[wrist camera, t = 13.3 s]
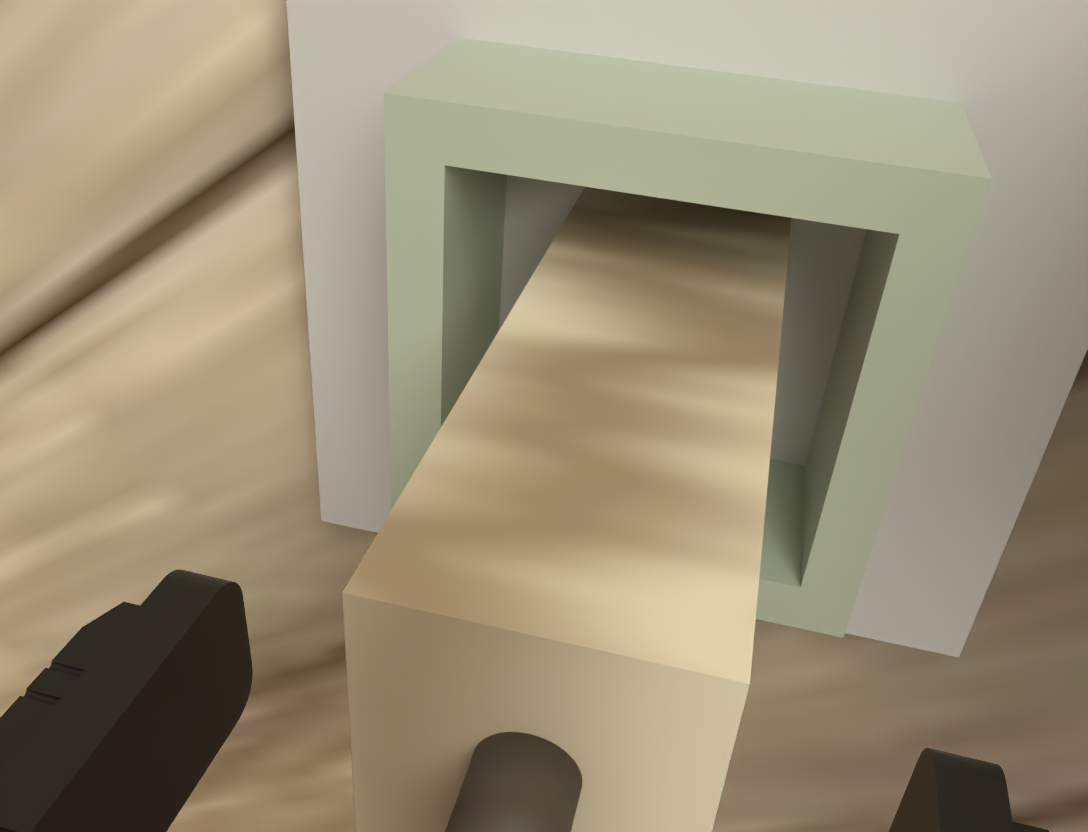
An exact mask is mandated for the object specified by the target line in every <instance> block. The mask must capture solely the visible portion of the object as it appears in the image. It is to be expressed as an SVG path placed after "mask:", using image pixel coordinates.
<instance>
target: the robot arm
mask: <svg viewBox="0 0 1088 832" xmlns="http://www.w3.org/2000/svg"><path fill="white" fill-rule="evenodd" d="M252 672H253V671H252V661H251V654H250V646H249V639H248V631H247V624H246V616H245V609H244V601H243V594H242V590H241V588H240V586H239V585H238V584H237V583H235V582H231V581H227V580H223V579H219V578H214V577H210V576H206V575H202V574H197V573H193V572H189V571H185V570H175V571H172V572H171V573H169V574H168V575H167V576H166V577H165V578H164V579H163V580H162V581H161V582H160V583H159V585H158V586H157V587H156V588H155V589H154V590H153V592H152V593H151V594H150V595H149V596H148V597H147V599H146V600H145V601H144V602H143V603H142V604H141V606H139V605H135V604H131V603H127V602H123V603H121V604H120V605H118V606H116V607H115V608H113V609H111V610H110V611H108V612H106V613H105V614H103V615H102V616H100V617H98V618H97V619H95V620H93V621H92V622H90V623H89V624H87V625H85V626H84V627H82V628H81V629H80V630H79V631H78V632H77V634H76V635H75V636H74V637H73V638H72V639H71V640H70V641H69V642H68V644H67V645H66V646H65V647H64V648H63V649H62V650H61V651H60V652H59V653H58V655H57V656H56V657H55V658H54V659H53V660H52V663H51V666H50V668H49V669H48V668H45V669H44V670H43V671H42V672H41V673H40V674H39V676H38V677H37V678H36V679H35V680H34V681H33V682H32V683H31V684H30V686H29V687H28V688H27V691H26V694H25V695H24V696H23V697H22V696H20V697H19V698H18V699H17V700H16V701H15V702H14V703H13V704H12V705H11V707H10V708H9V709H8V710H7V711H6V712H5V713H4V714H3V715H2V717H1V718H0V832H166V831H167V830H168V828H169V827H170V825H171V824H172V822H173V820H174V819H175V817H176V816H177V814H178V813H179V811H180V810H181V808H182V807H183V805H184V804H185V802H186V800H187V799H188V797H189V796H190V794H191V793H192V791H193V790H194V788H195V787H196V785H197V783H198V782H199V780H200V779H201V777H202V776H203V774H204V773H205V771H206V770H207V768H208V766H209V765H210V763H211V762H212V760H213V759H214V757H215V756H216V754H217V753H218V751H219V750H220V748H221V746H222V745H223V743H224V742H225V740H226V739H227V737H228V736H229V734H230V733H231V731H232V729H233V728H234V726H235V725H236V723H237V722H238V720H239V718H240V716H241V714H242V712H243V710H244V708H245V705H246V703H247V700H248V696H249V693H250V689H251V684H252ZM889 832H1049V831H1048V830H1045V829H1041V828H1037V827H1033V826H1029V825H1024V824H1020V823H1016V822H1012V816H1011V810H1010V803H1009V797H1008V791H1007V785H1006V779H1005V775H1004V772H1003V770H1002V768H1001V767H1000V766H999V765H997V764H993V763H989V762H985V761H981V760H976V759H972V758H968V757H964V756H959V755H955V754H951V753H947V752H942V751H938V750H934V749H930V748H926V749H924V750H923V752H922V753H921V755H920V757H919V759H918V761H917V764H916V766H915V769H914V771H913V774H912V776H911V779H910V781H909V784H908V786H907V788H906V791H905V793H904V796H903V798H902V801H901V803H900V806H899V808H898V810H897V813H896V815H895V818H894V820H893V823H892V825H891V828H890V830H889Z"/></svg>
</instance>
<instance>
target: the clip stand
mask: <svg viewBox="0 0 1088 832" xmlns="http://www.w3.org/2000/svg"><path fill="white" fill-rule="evenodd" d="M286 4H287V18H288V33H289V48H290V63H291V78H292V93H293V108H294V123H295V137H296V152H297V167H298V182H299V197H300V212H301V227H302V242H303V256H304V271H305V286H306V301H307V316H308V331H309V346H310V361H311V375H312V390H313V405H314V420H315V435H316V450H317V465H318V479H319V494H320V509H321V521H324V522H329V523H333V524H338V525H343V526H347V527H352V528H357V529H361V530H366V531H371V532H375V533H378V532H379V530H380V528H381V527H382V525H383V523H384V522H385V520H386V518H387V517H388V515H389V513H390V512H391V510H392V508H393V507H394V505H395V503H396V502H397V500H398V498H399V497H400V495H401V493H402V492H403V490H404V488H405V487H406V485H407V483H408V482H409V480H410V478H411V477H412V475H413V473H414V472H415V470H416V468H417V467H418V465H419V463H420V462H421V460H422V458H423V457H424V455H425V453H426V452H427V450H428V448H429V447H430V445H431V443H432V442H433V440H434V438H435V437H436V435H437V433H438V432H439V430H440V428H441V427H442V425H443V423H444V422H445V420H446V418H447V417H448V415H449V413H450V412H451V410H452V408H453V407H454V405H455V403H456V402H457V400H458V398H459V397H460V395H461V393H462V392H463V390H464V388H465V387H466V385H467V383H468V382H469V380H470V378H471V377H472V375H473V373H474V372H475V370H476V368H477V367H478V365H479V363H480V361H481V360H482V358H483V356H484V355H485V353H486V351H487V350H488V348H489V346H490V345H491V343H492V341H493V340H494V338H495V336H496V335H497V333H498V331H499V330H500V328H501V326H502V325H503V323H504V321H505V320H506V318H507V316H508V315H509V313H510V311H511V310H512V308H513V306H514V305H515V303H516V301H517V300H518V298H519V296H520V295H521V293H522V291H523V290H524V288H525V286H526V285H527V283H528V281H529V280H530V278H531V276H532V275H533V273H534V271H535V270H536V268H537V266H538V265H539V263H540V261H541V260H542V258H543V256H544V255H545V253H546V251H547V250H548V248H549V246H550V245H551V243H552V241H553V240H554V238H555V236H556V235H557V233H558V231H559V230H560V228H561V226H562V225H563V223H564V221H565V220H566V218H567V216H568V215H569V213H570V211H571V210H572V208H573V206H574V205H575V203H576V201H577V200H578V198H579V196H580V195H581V193H582V191H583V189H584V188H585V187H591V188H598V189H605V190H611V191H618V192H624V193H631V194H638V195H644V196H651V197H657V198H664V199H671V200H677V201H684V202H690V203H697V204H704V205H710V206H717V207H723V208H730V209H737V210H743V211H750V212H757V213H763V214H770V215H776V216H783V217H790V218H791V229H790V240H789V251H788V263H787V274H786V285H785V296H784V307H783V318H782V330H781V341H780V352H779V363H778V374H777V386H776V397H775V408H774V419H773V430H772V442H771V453H770V464H769V475H768V486H767V497H766V509H765V520H764V531H763V542H762V553H761V565H760V576H759V587H758V598H757V609H756V619H758V620H762V621H767V622H772V623H776V624H781V625H786V626H790V627H795V628H800V629H804V630H809V631H814V632H818V633H823V634H827V635H832V636H837V637H841V638H843V637H844V634H845V633H847V634H851V635H856V636H861V637H865V638H870V639H875V640H879V641H884V642H888V643H893V644H898V645H902V646H907V647H912V648H916V649H921V650H926V651H930V652H935V653H940V654H944V655H949V656H954V657H958V658H959V656H960V654H961V651H962V649H963V647H964V644H965V642H966V639H967V637H968V635H969V632H970V630H971V627H972V625H973V623H974V620H975V618H976V615H977V613H978V611H979V608H980V606H981V603H982V601H983V599H984V596H985V594H986V591H987V589H988V587H989V584H990V582H991V579H992V577H993V575H994V572H995V570H996V567H997V565H998V563H999V560H1000V558H1001V555H1002V553H1003V551H1004V548H1005V546H1006V543H1007V541H1008V539H1009V536H1010V534H1011V531H1012V529H1013V527H1014V524H1015V522H1016V519H1017V517H1018V515H1019V512H1020V510H1021V507H1022V505H1023V503H1024V500H1025V498H1026V495H1027V493H1028V491H1029V488H1030V486H1031V484H1032V481H1033V479H1034V476H1035V474H1036V472H1037V469H1038V467H1039V464H1040V462H1041V460H1042V457H1043V455H1044V452H1045V450H1046V448H1047V445H1048V443H1049V440H1050V438H1051V436H1052V433H1053V431H1054V428H1055V426H1056V424H1057V421H1058V419H1059V416H1060V414H1061V412H1062V409H1063V407H1064V404H1065V402H1066V400H1067V397H1068V395H1069V392H1070V390H1071V388H1072V385H1073V383H1074V380H1075V378H1076V376H1077V373H1078V371H1079V368H1080V366H1081V364H1082V361H1083V359H1084V356H1085V354H1086V352H1087V349H1088V0H286Z"/></svg>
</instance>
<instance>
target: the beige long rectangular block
mask: <svg viewBox="0 0 1088 832" xmlns="http://www.w3.org/2000/svg"><path fill="white" fill-rule="evenodd" d="M790 229H791V218H790V217H783V216H776V215H770V214H763V213H757V212H750V211H743V210H737V209H730V208H723V207H717V206H710V205H704V204H697V203H690V202H684V201H677V200H671V199H664V198H657V197H651V196H644V195H638V194H631V193H624V192H618V191H611V190H605V189H598V188H591V187H585V188H584V189H583V191H582V193H581V195H580V196H579V198H578V200H577V201H576V203H575V205H574V206H573V208H572V210H571V211H570V213H569V215H568V216H567V218H566V220H565V221H564V223H563V225H562V226H561V228H560V230H559V231H558V233H557V235H556V236H555V238H554V240H553V241H552V243H551V245H550V246H549V248H548V250H547V251H546V253H545V255H544V256H543V258H542V260H541V261H540V263H539V265H538V266H537V268H536V270H535V271H534V273H533V275H532V276H531V278H530V280H529V281H528V283H527V285H526V286H525V288H524V290H523V291H522V293H521V295H520V296H519V298H518V300H517V301H516V303H515V305H514V306H513V308H512V310H511V311H510V313H509V315H508V316H507V318H506V320H505V321H504V323H503V325H502V326H501V328H500V330H499V331H498V333H497V335H496V336H495V338H494V340H493V341H492V343H491V345H490V346H489V348H488V350H487V351H486V353H485V355H484V356H483V358H482V360H481V361H480V363H479V365H478V367H477V368H476V370H475V372H474V373H473V375H472V377H471V378H470V380H469V382H468V383H467V385H466V387H465V388H464V390H463V392H462V393H461V395H460V397H459V398H458V400H457V402H456V403H455V405H454V407H453V408H452V410H451V412H450V413H449V415H448V417H447V418H446V420H445V422H444V423H443V425H442V427H441V428H440V430H439V432H438V433H437V435H436V437H435V438H434V440H433V442H432V443H431V445H430V447H429V448H428V450H427V452H426V453H425V455H424V457H423V458H422V460H421V462H420V463H419V465H418V467H417V468H416V470H415V472H414V473H413V475H412V477H411V478H410V480H409V482H408V483H407V485H406V487H405V488H404V490H403V492H402V493H401V495H400V497H399V498H398V500H397V502H396V503H395V505H394V507H393V508H392V510H391V512H390V513H389V515H388V517H387V518H386V520H385V522H384V523H383V525H382V527H381V528H380V530H379V532H378V533H377V535H376V537H375V539H374V540H373V542H372V544H371V545H370V547H369V549H368V550H367V552H366V554H365V555H364V557H363V559H362V560H361V562H360V564H359V565H358V567H357V569H356V570H355V572H354V574H353V575H352V577H351V579H350V580H349V582H348V584H347V585H346V587H345V589H344V590H343V592H342V599H343V616H344V634H345V651H346V668H347V686H348V703H349V720H350V738H351V755H352V773H353V790H354V807H355V825H356V832H712V828H713V824H714V821H715V817H716V813H717V809H718V805H719V801H720V797H721V794H722V790H723V786H724V782H725V778H726V774H727V770H728V766H729V763H730V759H731V755H732V751H733V747H734V743H735V739H736V736H737V732H738V728H739V724H740V720H741V716H742V712H743V708H744V705H745V701H746V697H747V693H748V689H749V685H750V676H751V665H752V654H753V643H754V632H755V621H756V609H757V598H758V587H759V576H760V565H761V553H762V542H763V531H764V520H765V509H766V497H767V486H768V475H769V464H770V453H771V442H772V430H773V419H774V408H775V397H776V386H777V374H778V363H779V352H780V341H781V330H782V318H783V307H784V296H785V285H786V274H787V263H788V251H789V240H790Z"/></svg>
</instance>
